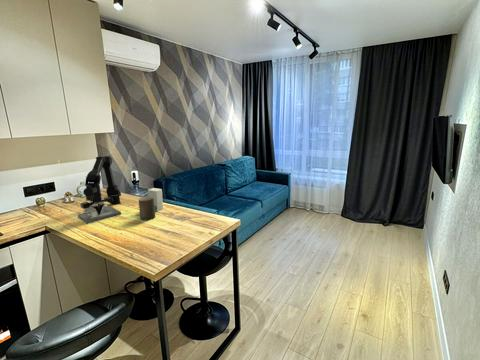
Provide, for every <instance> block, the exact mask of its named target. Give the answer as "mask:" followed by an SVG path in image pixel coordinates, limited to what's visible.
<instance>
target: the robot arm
mask: <svg viewBox="0 0 480 360" xmlns="http://www.w3.org/2000/svg"><path fill="white" fill-rule="evenodd" d="M112 165H113V157H111V155H101V156H96V157H95V162H94V164H93V167H92V169H91V170H90V171H89V172H88V173H87V174H86V176H85V182H84V186H85V188H84V189H83V195H84V196H85V200H86V201H84V202H81V203H80V208H81V209H83V210H84V209H85V208H89V207H90V206H91V207H93V208H95V210H96V212H97V213H98V215H100V213H101V210H102V208H103V206H104V205H106V204H105V203H108V204H110V205H112V206H115V205H119V204H122V202H121V199H120V197H122V191H121V190H120V188H119V187H118V185H116V182H115V180H114V176H113V172H112V171H113V170H112V168H111V167H112ZM102 168H103V171H104V173H105V174H104V175H105V179H106V184H107V188H106V190H105V191H106V192H105V193H106V194H107V195H106V196H107V197H103V199H102V192H101V191H102V190H101V187H100V186H101V185H100V184H101V181H102V180H101V179H102V176H101V172H102ZM88 201H89V202H88Z"/></svg>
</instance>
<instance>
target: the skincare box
mask: <svg viewBox="0 0 480 360" xmlns="http://www.w3.org/2000/svg"><path fill="white" fill-rule="evenodd" d="M148 196H149V197H153V198H154V207H155V213H156V212H160V211H162V210H163V209H164V205H163V203H164V202H163V189H162V188H156V187H152V188H149V189H147V197H148Z"/></svg>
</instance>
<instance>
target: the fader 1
mask: <svg viewBox="0 0 480 360" xmlns="http://www.w3.org/2000/svg"><path fill="white" fill-rule="evenodd" d="M91 216H92V217H93V218H94V217H97V213H96V211H92V212H91Z"/></svg>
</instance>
